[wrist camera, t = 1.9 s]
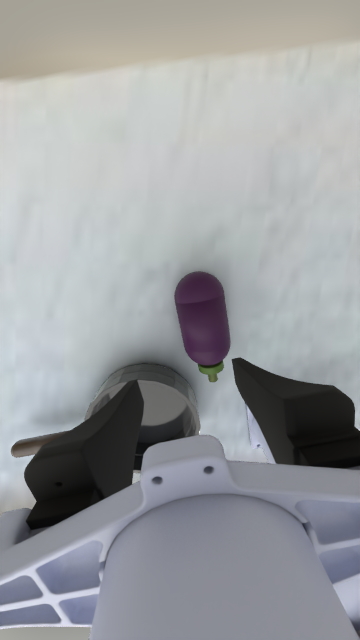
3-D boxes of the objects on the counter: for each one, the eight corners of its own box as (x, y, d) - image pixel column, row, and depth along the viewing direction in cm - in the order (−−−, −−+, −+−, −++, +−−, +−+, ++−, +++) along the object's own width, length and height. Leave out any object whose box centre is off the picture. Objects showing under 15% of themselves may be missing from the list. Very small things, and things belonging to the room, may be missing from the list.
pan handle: (94, 422, 24) (87, 434, 22) (98, 434, 24) (92, 447, 22) (16, 437, 24) (4, 450, 22) (22, 448, 24) (10, 462, 22)
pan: (186, 352, 24) (188, 369, 20) (203, 435, 27) (208, 462, 24) (84, 372, 24) (67, 393, 20) (113, 451, 28) (104, 481, 24)
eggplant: (170, 276, 21) (169, 278, 17) (214, 266, 21) (226, 267, 17) (190, 372, 25) (194, 398, 20) (228, 365, 25) (242, 389, 20)
